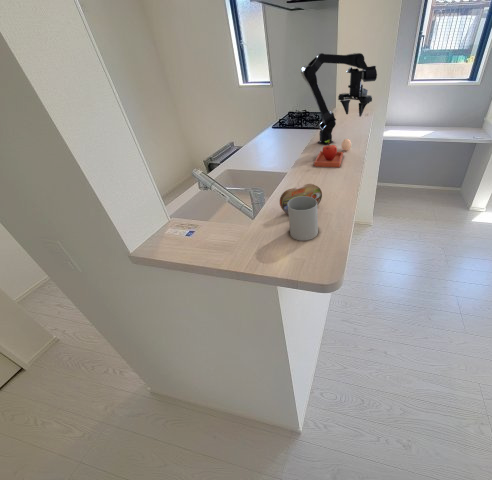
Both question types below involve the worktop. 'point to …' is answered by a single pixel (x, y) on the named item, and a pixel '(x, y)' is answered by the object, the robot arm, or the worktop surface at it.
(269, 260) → the worktop surface
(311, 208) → the cup
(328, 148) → the apple
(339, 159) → the tray
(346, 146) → the egg
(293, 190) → the tin
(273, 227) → the worktop surface
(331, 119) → the robot arm
